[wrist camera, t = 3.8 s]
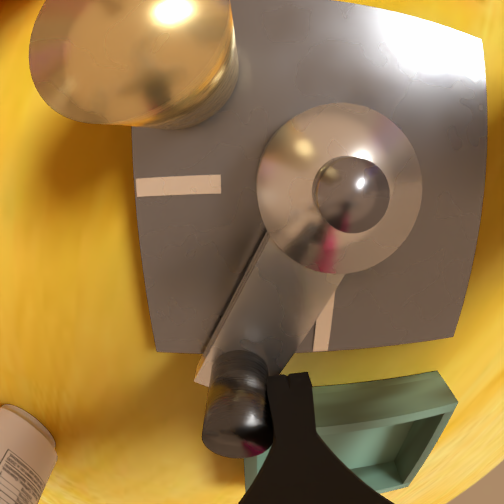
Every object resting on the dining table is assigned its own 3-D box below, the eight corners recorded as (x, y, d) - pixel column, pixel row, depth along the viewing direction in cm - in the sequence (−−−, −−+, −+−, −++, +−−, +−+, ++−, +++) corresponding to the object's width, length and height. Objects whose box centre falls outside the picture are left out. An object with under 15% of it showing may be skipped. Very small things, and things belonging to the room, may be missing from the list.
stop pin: (238, 12, 8) (230, -74, 3) (239, 126, 10) (229, 112, 5) (120, 26, 8) (43, -30, 3) (118, 135, 10) (25, 139, 5)
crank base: (468, 43, 9) (482, 39, 8) (443, 325, 13) (454, 338, 12) (143, 15, 9) (134, 5, 8) (162, 337, 13) (156, 353, 12)
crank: (300, 78, 9) (334, 38, 5) (427, 157, 10) (509, 174, 6) (168, 351, 12) (142, 432, 8) (282, 393, 13) (292, 474, 9)
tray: (437, 370, 14) (458, 401, 12) (397, 458, 17) (407, 486, 14) (243, 389, 14) (242, 430, 12) (246, 475, 17) (246, 508, 14)
